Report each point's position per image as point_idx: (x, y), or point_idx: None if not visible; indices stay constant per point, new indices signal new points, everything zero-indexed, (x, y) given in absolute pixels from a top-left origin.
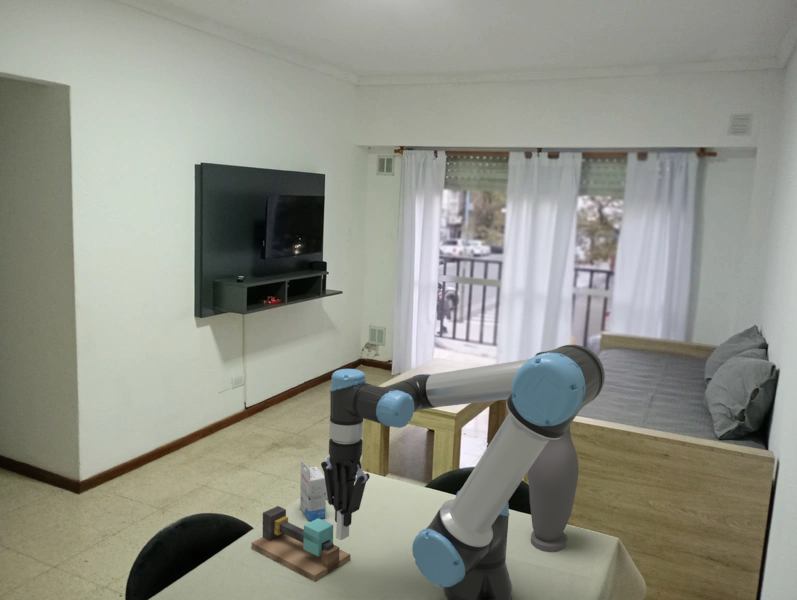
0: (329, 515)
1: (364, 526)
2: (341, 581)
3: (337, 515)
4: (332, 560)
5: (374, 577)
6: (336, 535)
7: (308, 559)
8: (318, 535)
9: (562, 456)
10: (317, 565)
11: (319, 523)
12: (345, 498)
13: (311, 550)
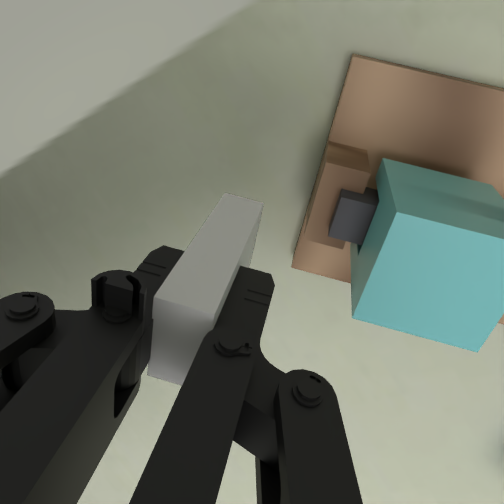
0: (497, 459)
1: (350, 431)
2: (250, 115)
3: (218, 289)
4: (318, 179)
5: (162, 195)
6: (257, 209)
7: (445, 164)
8: (397, 202)
9: None
10: (381, 139)
11: (442, 304)
12: (12, 430)
13: (435, 174)
